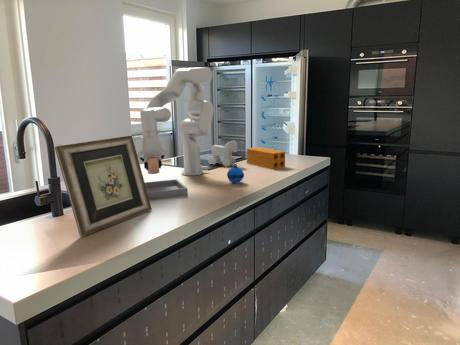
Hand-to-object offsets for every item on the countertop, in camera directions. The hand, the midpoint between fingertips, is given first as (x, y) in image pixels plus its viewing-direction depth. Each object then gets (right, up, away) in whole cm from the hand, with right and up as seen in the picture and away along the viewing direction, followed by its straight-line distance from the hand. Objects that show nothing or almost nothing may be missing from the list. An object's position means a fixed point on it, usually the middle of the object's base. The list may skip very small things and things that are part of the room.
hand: (153, 168), depth 191 cm
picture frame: (-5, -20, -52) cm, 56 cm away
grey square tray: (+7, -12, -15) cm, 20 cm away
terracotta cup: (0, -2, 0) cm, 2 cm away
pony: (+35, +2, +48) cm, 60 cm away
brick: (+62, +2, +46) cm, 77 cm away
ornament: (+42, -8, +1) cm, 43 cm away
